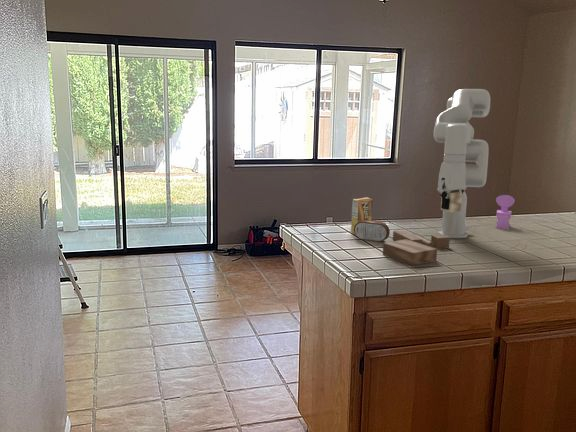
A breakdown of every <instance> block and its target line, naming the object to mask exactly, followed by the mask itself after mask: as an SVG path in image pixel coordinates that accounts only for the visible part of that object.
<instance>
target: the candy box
mask: <svg viewBox="0 0 576 432" xmlns="http://www.w3.org/2000/svg"><path fill="white" fill-rule="evenodd" d="M372 212H373V198H370V197H361V198H353V199H352V205H351V223H350V224H351V225H350V227H351V228H350V233H351V234H354V235H355V233H354V226H355V225H356V224H357V222H358V221H360V220H370V221H372Z"/></svg>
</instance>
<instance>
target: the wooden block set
mask: <svg viewBox="0 0 576 432" xmlns="http://www.w3.org/2000/svg"><path fill="white" fill-rule="evenodd" d="M430 237H431V239H430V240H429V239H427V238H425V237H422V236H420V235H418V234H416V235H413V233H409V232H406V231H404V230H393V232H392V240H393V241H399V240H405V239H408V240H411V241H414V242H417V243H420V244H423V245H426V246H430V247H433V248H436V249H437V250H438V249H448V248H450V242H451V241H450V240H451V238H450V237H447V236H444V235H440V234H438V233H434V234H431V236H430Z"/></svg>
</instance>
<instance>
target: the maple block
mask: <svg viewBox="0 0 576 432" xmlns="http://www.w3.org/2000/svg"><path fill="white" fill-rule="evenodd" d="M445 193H447V192H445ZM440 198H441V197H440ZM448 199H450V204H449V210H446V209H442V208H441V207H440V211H442V212H443V211H447V212H458V211H461V199H462V192H458V191H450V195H449V198H448ZM440 200H441V201H440V206H441V205H442V198H441V199H440Z"/></svg>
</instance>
